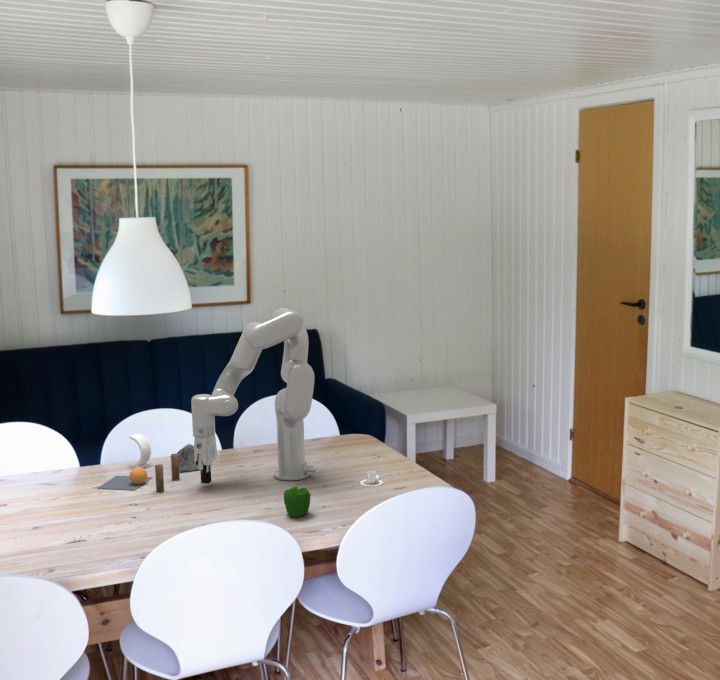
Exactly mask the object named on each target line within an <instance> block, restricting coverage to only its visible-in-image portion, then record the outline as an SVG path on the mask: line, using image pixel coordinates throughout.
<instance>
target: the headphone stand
mask: <svg viewBox="0 0 720 680" xmlns="http://www.w3.org/2000/svg"><path fill="white" fill-rule="evenodd" d="M128 439H130V440H132V441H134V442H135V443H136V444H137V446H138V449H139V451H140V457H139V460H138V462H137V463H133V464H131V465H130V468H132V469H134V468H136V467H141V468H143V469H146V468H147V467H150V463H148V462H149V460H150V458H151V454H152V447H151V445H150V442H149V440H148V439H147V438H146V436H144V435H143V434H141V433H135V434H131V435H129V436H128Z"/></svg>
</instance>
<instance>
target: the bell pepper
mask: <svg viewBox="0 0 720 680" xmlns="http://www.w3.org/2000/svg"><path fill="white" fill-rule="evenodd" d="M283 502H284V507H285V509H286V513H287V514H288V515H289V516H290V517H291V518H301V517H303V516H305V515H307V514H308V513H309V508H310V505H311V493H310V491H309V490H308V489H307V488H306V487H302V488H298V485H296V484H294V485H292V486H291V487H290V488H289V489H284V492H283Z"/></svg>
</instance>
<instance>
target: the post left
mask: <svg viewBox="0 0 720 680" xmlns="http://www.w3.org/2000/svg"><path fill="white" fill-rule="evenodd" d="M154 472H155V473H154V475H155V491H156V493H164V492H165V480H164V479H165V478H164V465H163V464H155V465H154Z"/></svg>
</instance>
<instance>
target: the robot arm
mask: <svg viewBox="0 0 720 680" xmlns="http://www.w3.org/2000/svg"><path fill="white" fill-rule="evenodd" d="M282 342H283V354H282V363H281V369H280V376H281V379H282V380H283V382H285V383H286V387H284V388H282V389H280V390H278V392H277V394H276V396H275V399H274V412H275V418H276V420H275V421H276V437H277V438H276V440H277V441H276V442H277V467H278V469H277V470H275V471H274V472H273V477H274V478H275V479H277V480H279V481H280V480H281V481H298V480H303V479H306V478H308V477H309V476H310V473H317V466H315V465H309V464H308V461H307V460H305V457H306V456H305V452H306V451H305V424H304V423H305V422H304V419H305V418H307V416H308V415H309V413H310V411H311V408H312V401H313V395H314V388H315V372H314V369H313V368H312V366H311V365H310V364H309V363H308V355H309V335H308V331H307V329H306V326H305V325H304V319H303V316H302V315H301V314H300V313H299V312H298V311H296V310H293V309H290V308H287V307H280V308H278V309H276V310H275V311H274V312H273V314H272V318H271V319H270V320H267V321H265V322H258V321H252V322H249V323H248V324H247V325H245V327H244V329H243V331H242V333H241V336H240V337H239V340H238V342H237V344H236V346H235V349H234V351H233V354H232V355H231V357H230V360H229V361H228V363H227V364H226V366H225V368H224V369H223V370H222V373H220V375H219V378H218V379H217V381H216V383H215V386H214V388H213V391H212V392H211V394H208V393H201V394H199V393H198V394H195V395H192V397H191V403H190V404H191V405H190V406H191V423H192V427H191V428H192V437H194V439H193V440H194V442H193V446H194V461H195V465H198V469H197V470H198V471H199V472H200V483H201V484H208V485H209V484H211V483H212V464H213V463H214V462H215V461H216V460H217V459H218V447H217V439H216V421H215V420H216V419H215V416H217V417H229V416H232V415H234V414H235V413H236V412H237V410H238V409H239V402H238V399H237V398H236V397H235V393H236V391H237V390H238V389H237V388H238V387H239V385H240V383H241V382H242V380H243V379H245V377H247V376H248V375H250V374H251V373H252V372H253V370H254V369H255V366H256V365H257V362H258V359H259V357H260V355H261V354H262V350H264V349H268V348H271V347H273V346H274V347H275V346H276V345H278V344H280V343H282Z"/></svg>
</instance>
